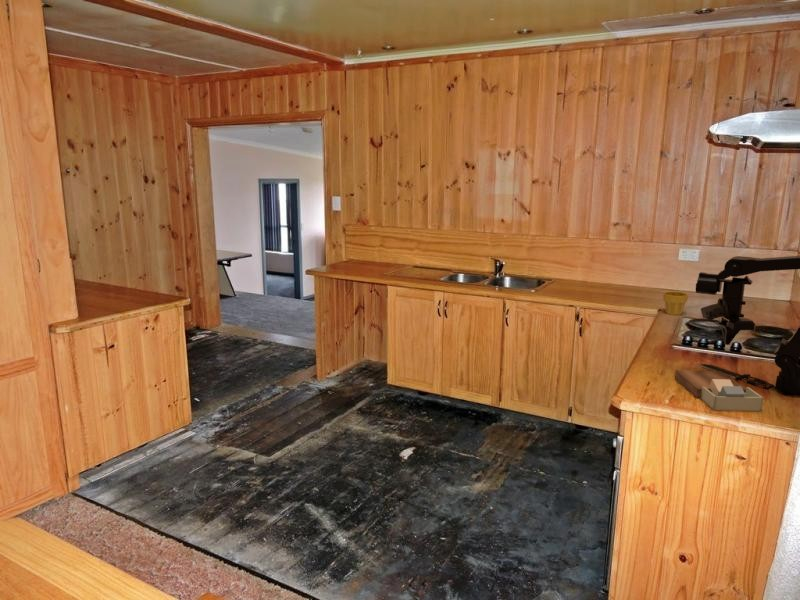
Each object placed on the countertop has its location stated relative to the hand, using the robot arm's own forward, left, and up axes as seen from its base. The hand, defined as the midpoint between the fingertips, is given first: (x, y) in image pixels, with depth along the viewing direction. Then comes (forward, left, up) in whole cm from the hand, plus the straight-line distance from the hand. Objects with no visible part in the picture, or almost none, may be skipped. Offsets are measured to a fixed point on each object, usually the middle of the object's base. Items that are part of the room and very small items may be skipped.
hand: (726, 344), depth 176 cm
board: (+8, +8, -12) cm, 16 cm away
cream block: (+9, +17, -10) cm, 22 cm away
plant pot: (-19, -88, -12) cm, 91 cm away
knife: (-5, -4, -13) cm, 14 cm away
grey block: (+8, +21, -8) cm, 24 cm away
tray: (+7, +21, -12) cm, 25 cm away
